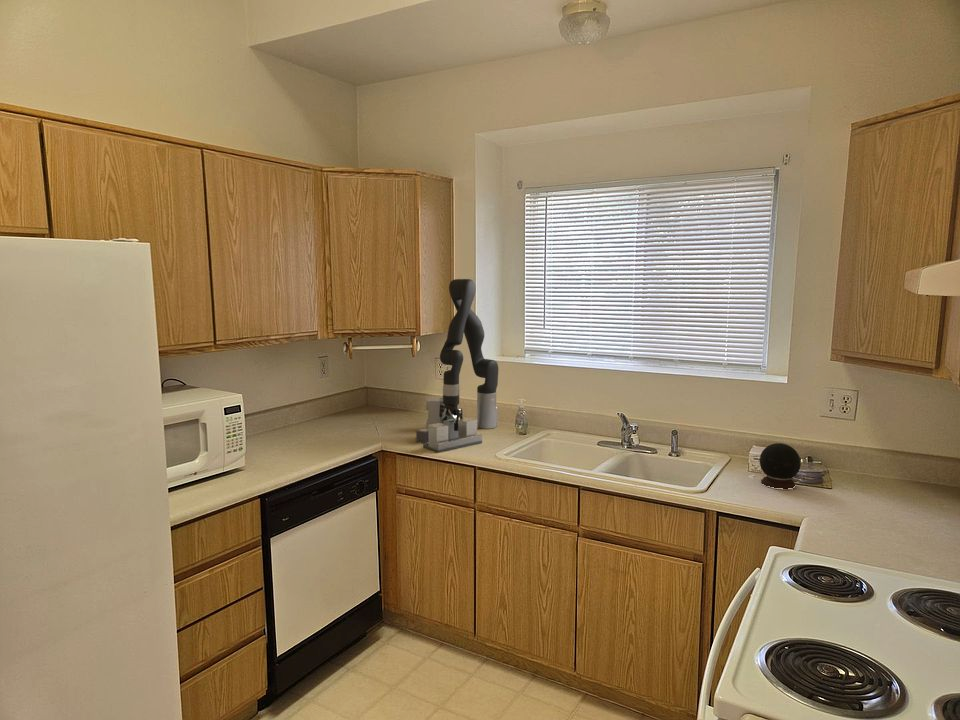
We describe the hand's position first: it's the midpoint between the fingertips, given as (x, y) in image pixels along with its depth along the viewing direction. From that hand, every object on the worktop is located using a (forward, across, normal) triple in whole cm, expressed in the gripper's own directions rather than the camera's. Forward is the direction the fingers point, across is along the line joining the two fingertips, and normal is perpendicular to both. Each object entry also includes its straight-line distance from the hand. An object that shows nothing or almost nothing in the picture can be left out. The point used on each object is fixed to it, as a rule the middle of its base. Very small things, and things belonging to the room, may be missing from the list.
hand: (450, 429), depth 282 cm
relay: (+4, +3, +12) cm, 13 cm away
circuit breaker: (+4, +14, -6) cm, 16 cm away
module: (+4, 0, -1) cm, 4 cm away
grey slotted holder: (+4, -10, +6) cm, 13 cm away
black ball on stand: (+4, -124, -52) cm, 134 cm away
